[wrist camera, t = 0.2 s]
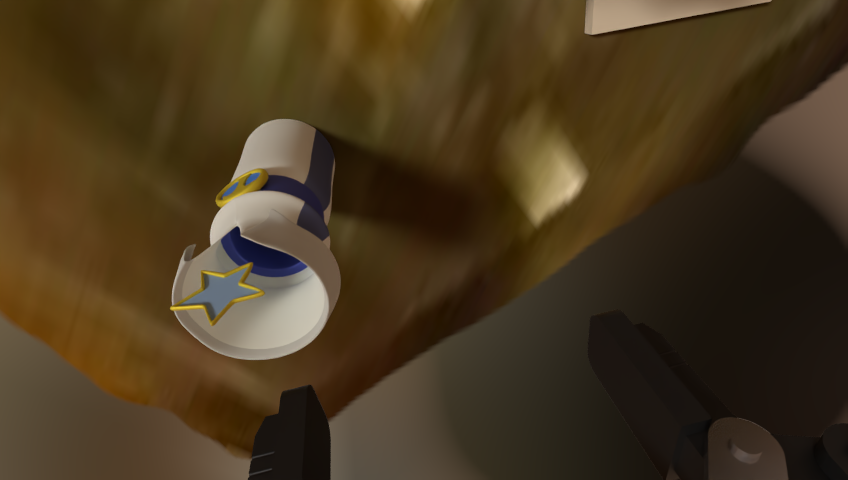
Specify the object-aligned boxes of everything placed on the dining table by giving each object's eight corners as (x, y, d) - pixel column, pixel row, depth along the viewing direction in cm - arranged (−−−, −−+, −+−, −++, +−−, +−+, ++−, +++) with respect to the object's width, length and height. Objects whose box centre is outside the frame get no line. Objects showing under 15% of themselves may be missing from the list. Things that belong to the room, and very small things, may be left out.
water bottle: (212, 145, 36) (46, 388, 15) (302, 96, 35) (256, 281, 14) (273, 220, 40) (209, 488, 20) (353, 178, 40) (376, 409, 19)
